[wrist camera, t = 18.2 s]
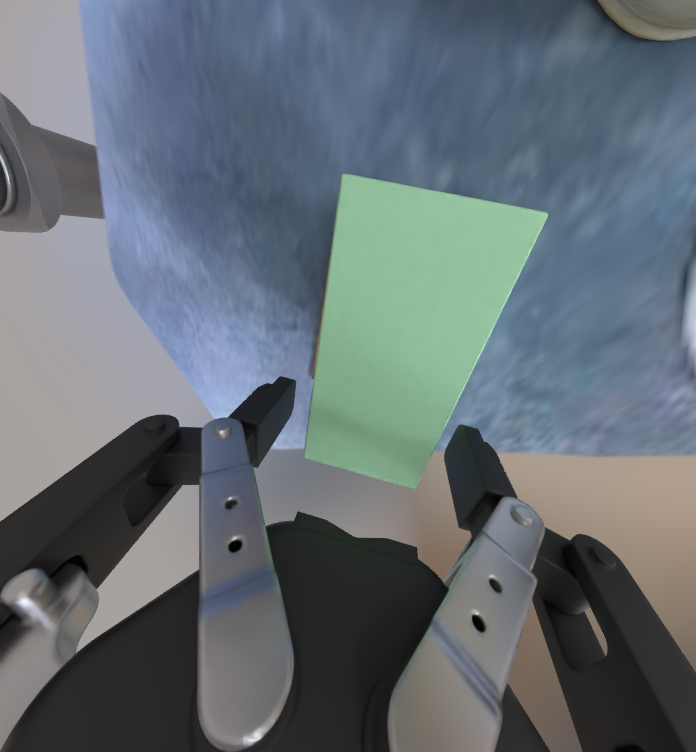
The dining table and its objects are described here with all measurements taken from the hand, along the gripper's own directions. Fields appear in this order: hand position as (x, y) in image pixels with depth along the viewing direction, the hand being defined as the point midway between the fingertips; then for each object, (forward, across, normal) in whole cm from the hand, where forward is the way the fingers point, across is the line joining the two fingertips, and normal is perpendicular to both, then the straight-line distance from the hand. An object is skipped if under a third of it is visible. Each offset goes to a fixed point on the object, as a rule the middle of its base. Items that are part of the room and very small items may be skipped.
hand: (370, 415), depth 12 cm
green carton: (+5, 0, +1) cm, 5 cm away
